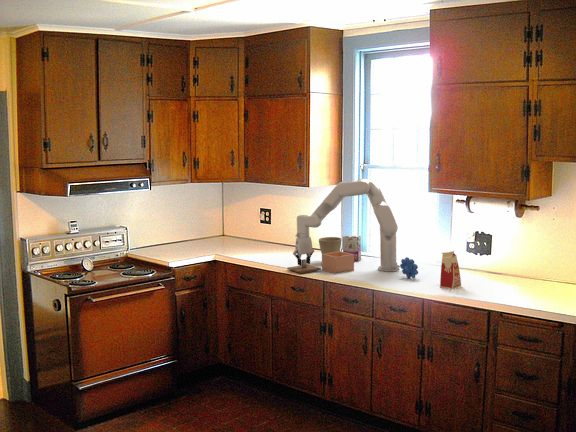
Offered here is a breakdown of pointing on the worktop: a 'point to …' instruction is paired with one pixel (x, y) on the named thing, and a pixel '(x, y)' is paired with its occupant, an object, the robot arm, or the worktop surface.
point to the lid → (304, 268)
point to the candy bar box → (352, 246)
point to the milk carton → (450, 271)
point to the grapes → (409, 267)
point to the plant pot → (330, 244)
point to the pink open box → (338, 262)
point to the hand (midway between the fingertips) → (303, 264)
